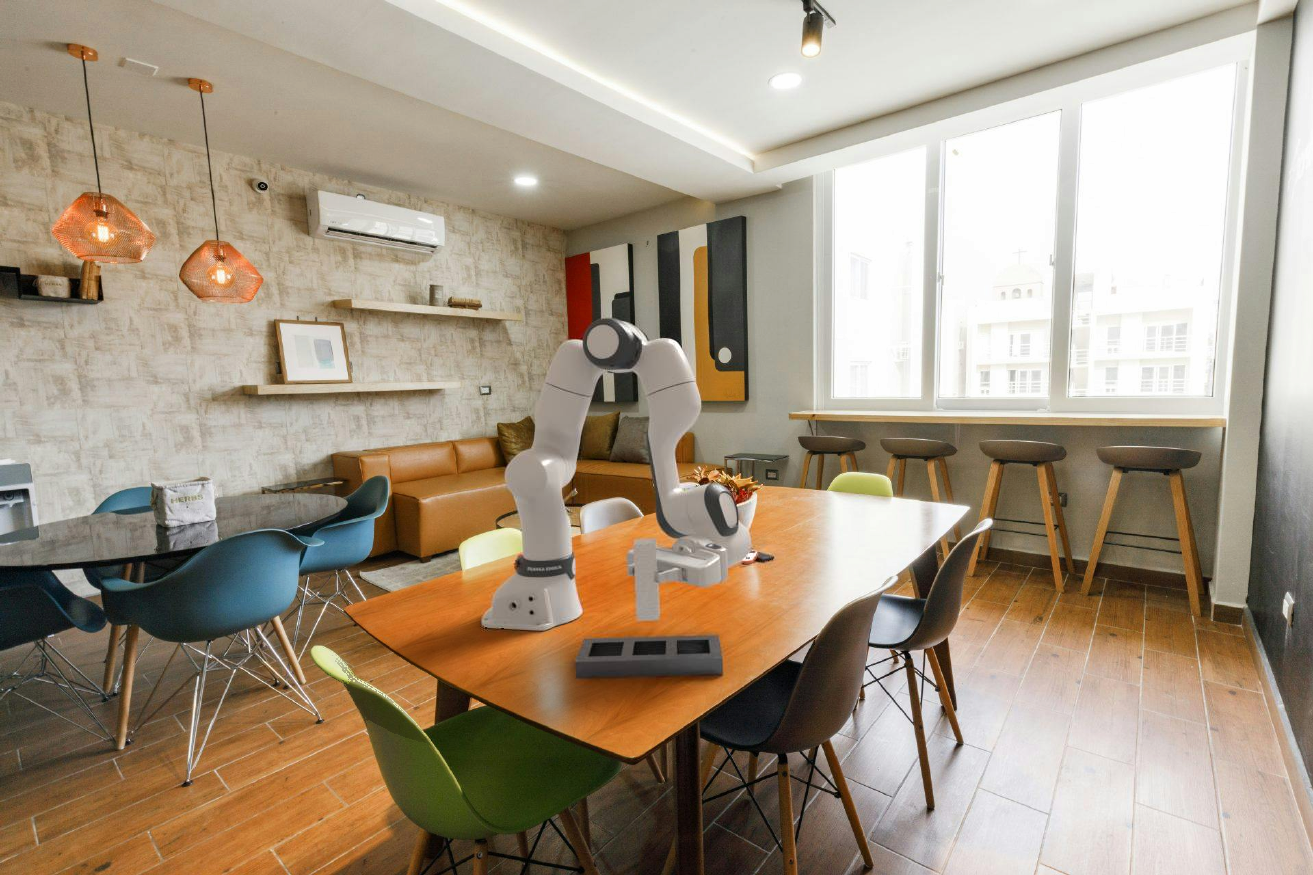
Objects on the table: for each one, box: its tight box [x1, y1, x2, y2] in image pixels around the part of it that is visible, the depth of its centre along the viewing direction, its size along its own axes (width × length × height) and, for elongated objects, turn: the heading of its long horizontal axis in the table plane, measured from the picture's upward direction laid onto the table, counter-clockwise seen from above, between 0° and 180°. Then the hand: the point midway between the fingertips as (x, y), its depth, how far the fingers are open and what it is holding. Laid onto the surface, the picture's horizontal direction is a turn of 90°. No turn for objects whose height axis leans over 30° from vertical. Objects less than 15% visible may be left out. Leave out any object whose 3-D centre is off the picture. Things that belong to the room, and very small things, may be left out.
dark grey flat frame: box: [574, 634, 724, 679], centre depth 109 cm, size 26×10×3 cm, turn 88°
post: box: [632, 538, 661, 622], centre depth 108 cm, size 4×4×14 cm
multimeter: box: [739, 549, 775, 568], centre depth 169 cm, size 18×12×3 cm, turn 120°
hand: (643, 574), depth 107 cm, fingers closed on post, 6 cm apart
